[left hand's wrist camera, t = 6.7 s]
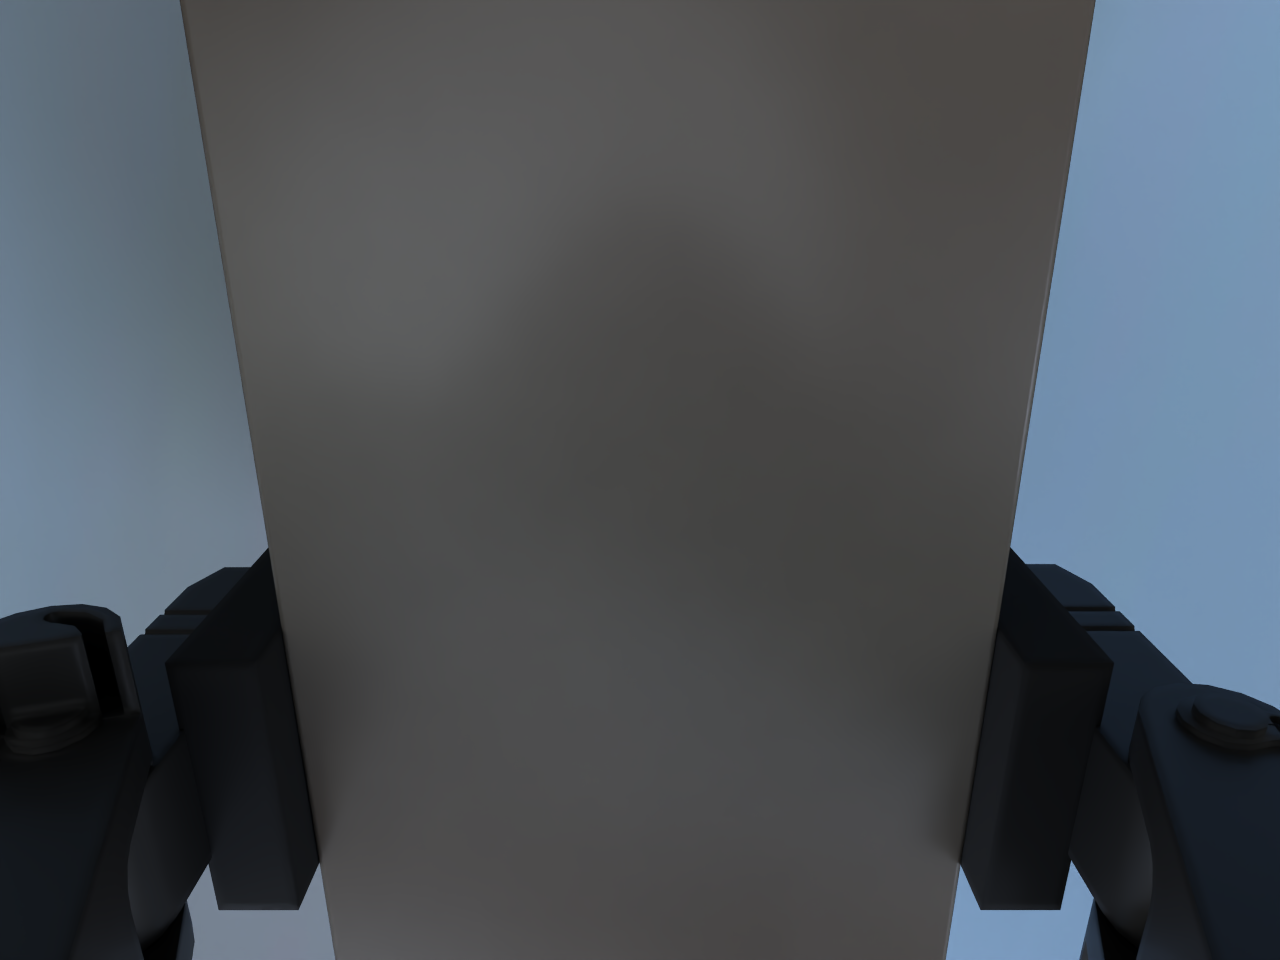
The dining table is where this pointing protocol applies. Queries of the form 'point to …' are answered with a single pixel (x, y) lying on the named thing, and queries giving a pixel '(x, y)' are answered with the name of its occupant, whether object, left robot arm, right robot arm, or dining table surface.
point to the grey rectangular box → (638, 447)
